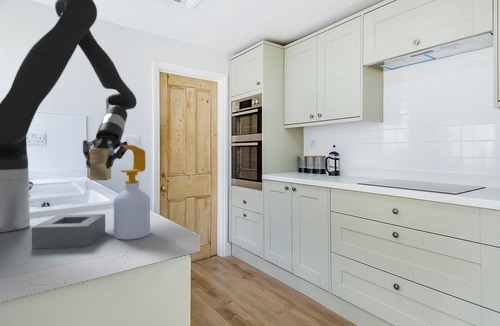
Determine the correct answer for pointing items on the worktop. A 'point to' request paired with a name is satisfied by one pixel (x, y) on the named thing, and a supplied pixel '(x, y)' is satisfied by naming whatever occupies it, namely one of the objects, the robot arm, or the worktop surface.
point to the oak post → (99, 164)
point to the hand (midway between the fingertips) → (98, 166)
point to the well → (68, 231)
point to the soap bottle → (132, 203)
